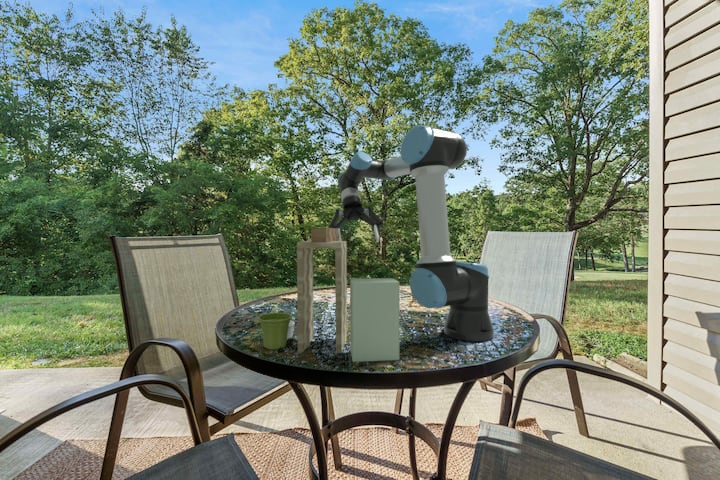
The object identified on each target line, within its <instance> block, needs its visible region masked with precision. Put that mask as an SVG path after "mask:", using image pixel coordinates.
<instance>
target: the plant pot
mask: <svg viewBox="0 0 720 480" xmlns="http://www.w3.org/2000/svg"><path fill="white" fill-rule="evenodd" d="M292 317H293V316H292V314H290V313H285V312H269V313H265V314H260V315H259V316H258V317H257V318H258V320H259V324H260V327H261V333H262V340H263V342H262V343H263V347H264V348H266V349H268V350H279V349H280V348H282V349H283V348H285V347H286V345H287V341H288V339H287V333H288V326H289V323H290V320H291V319H292Z"/></svg>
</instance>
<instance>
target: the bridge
mask: <svg viewBox="0 0 720 480" xmlns="http://www.w3.org/2000/svg"><path fill="white" fill-rule="evenodd" d="M347 243H348V242H347V240H342V241H339V240H337V241H331V242H312V241H311V240H305V241H298V242H296V276H297V277H296V284H297V285H296V286H297V287H296V288H297V294H296V295H297V297H296V299H297V300H296V301H297V304H296V305H297V306H296V307H297V308H296V309H297V313H296V315H297V353H304V352H305V350H306V349H307V347H308V346H309V344H310V343H311V341H312V340H313V338H314V329H315V328H314V249H334V250H335V251H334V253H335V255H334V256H335V257H334V258H335V260H334V261H335V262H334V263H335V265H334V266H335V354H342V353H343V350H344V346H345V344H346V341H347V339H348V287H347V286H348V283H347V282H348V277H347V276H348V275H347V273H348V265H347V264H348V260H347V259H348V252H347V251H348V248H347V247H348V245H347Z"/></svg>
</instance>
